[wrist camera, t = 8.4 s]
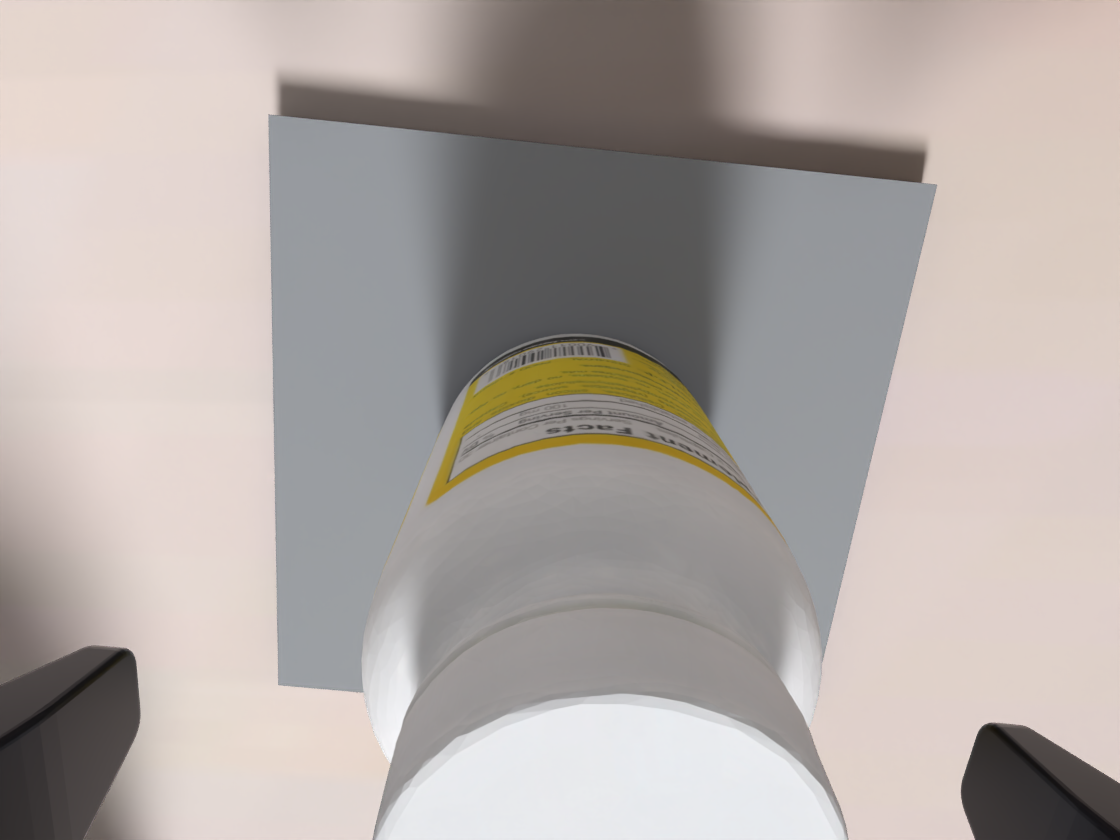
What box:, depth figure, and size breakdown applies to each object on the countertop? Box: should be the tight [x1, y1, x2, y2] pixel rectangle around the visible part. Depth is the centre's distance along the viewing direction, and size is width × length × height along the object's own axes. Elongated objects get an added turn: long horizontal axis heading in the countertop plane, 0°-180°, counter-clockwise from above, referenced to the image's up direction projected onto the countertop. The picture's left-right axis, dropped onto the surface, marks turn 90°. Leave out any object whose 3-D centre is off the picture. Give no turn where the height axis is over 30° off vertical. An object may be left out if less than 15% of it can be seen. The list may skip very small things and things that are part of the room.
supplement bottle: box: [361, 334, 848, 840], centre depth 11 cm, size 5×5×10 cm
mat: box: [268, 114, 937, 693], centre depth 16 cm, size 12×12×1 cm
